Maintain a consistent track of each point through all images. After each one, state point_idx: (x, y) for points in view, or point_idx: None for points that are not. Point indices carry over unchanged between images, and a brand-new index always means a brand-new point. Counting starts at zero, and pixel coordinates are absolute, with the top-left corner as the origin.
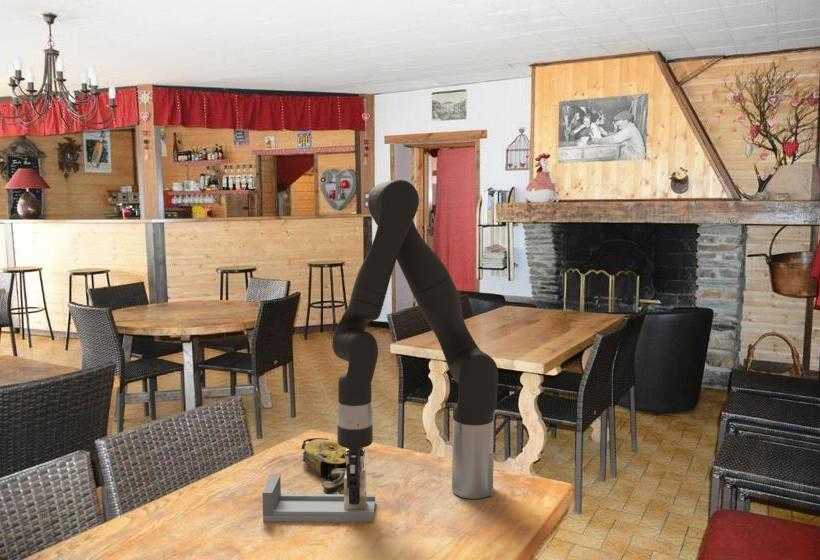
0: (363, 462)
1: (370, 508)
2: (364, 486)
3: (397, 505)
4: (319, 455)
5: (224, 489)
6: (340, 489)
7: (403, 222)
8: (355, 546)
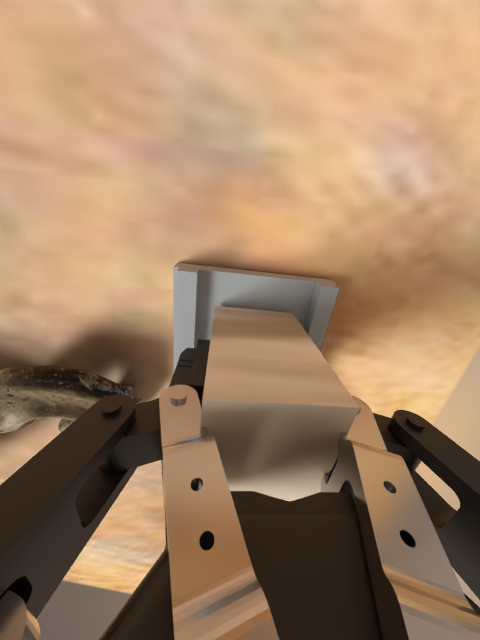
0: (230, 500)
1: (271, 290)
2: (330, 370)
3: (204, 161)
4: None
5: (120, 559)
6: (128, 392)
7: None
8: (453, 333)
